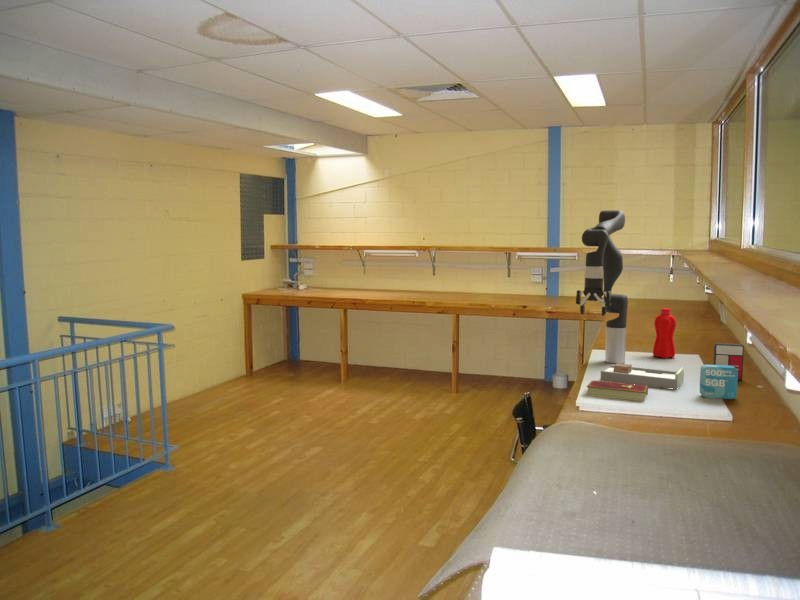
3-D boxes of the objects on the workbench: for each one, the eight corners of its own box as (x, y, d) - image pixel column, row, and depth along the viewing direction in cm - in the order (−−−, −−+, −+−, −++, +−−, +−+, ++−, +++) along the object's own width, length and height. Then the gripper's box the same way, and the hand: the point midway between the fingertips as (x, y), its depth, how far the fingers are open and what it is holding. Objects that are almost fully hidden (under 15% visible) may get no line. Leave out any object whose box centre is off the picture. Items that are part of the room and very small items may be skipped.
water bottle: (662, 354, 326) (664, 306, 323) (677, 358, 315) (679, 309, 313) (647, 355, 323) (649, 307, 321) (662, 359, 312) (664, 309, 310)
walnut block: (617, 369, 271) (617, 363, 271) (631, 371, 268) (631, 364, 268) (613, 372, 266) (613, 365, 266) (628, 373, 263) (628, 366, 263)
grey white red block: (713, 378, 268) (715, 344, 266) (712, 376, 272) (714, 342, 270) (742, 380, 264) (744, 345, 263) (740, 378, 268) (742, 344, 267)
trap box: (610, 373, 278) (611, 360, 278) (683, 381, 262) (684, 367, 262) (600, 380, 264) (600, 366, 263) (676, 389, 248) (677, 374, 247)
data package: (701, 397, 235) (703, 366, 234) (699, 394, 240) (700, 364, 238) (736, 399, 232) (738, 368, 231) (733, 396, 237) (735, 365, 236)
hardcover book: (591, 389, 249) (591, 379, 249) (647, 395, 240) (648, 384, 240) (586, 396, 239) (586, 385, 238) (644, 402, 229) (645, 391, 229)
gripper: (613, 277, 263) (612, 315, 265) (579, 276, 271) (578, 313, 272) (608, 278, 257) (607, 317, 258) (574, 277, 264) (573, 314, 266)
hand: (592, 314), depth 265 cm, fingers open, 8 cm apart
